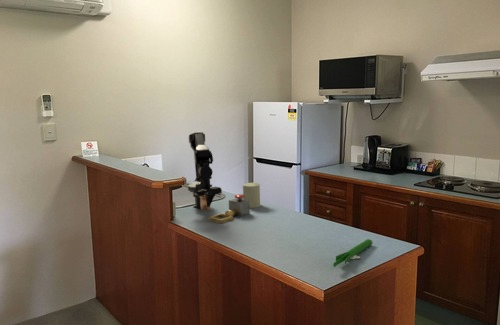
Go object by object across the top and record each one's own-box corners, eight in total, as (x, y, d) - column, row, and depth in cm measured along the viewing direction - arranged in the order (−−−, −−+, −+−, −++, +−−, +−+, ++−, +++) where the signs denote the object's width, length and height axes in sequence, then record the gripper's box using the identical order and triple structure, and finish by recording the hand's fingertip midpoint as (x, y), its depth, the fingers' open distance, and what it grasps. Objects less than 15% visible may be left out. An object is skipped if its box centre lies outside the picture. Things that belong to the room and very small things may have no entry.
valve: (221, 216, 198) (220, 198, 197) (238, 211, 207) (238, 193, 205) (233, 219, 193) (232, 200, 191) (250, 213, 201) (249, 195, 200)
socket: (209, 220, 192) (208, 217, 192) (221, 216, 198) (221, 213, 198) (220, 223, 187) (220, 220, 186) (233, 219, 192) (233, 216, 192)
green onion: (363, 246, 155) (327, 269, 132) (364, 238, 155) (327, 259, 131) (376, 249, 152) (341, 272, 129) (376, 240, 152) (341, 262, 128)
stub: (198, 209, 199) (197, 195, 198) (206, 207, 203) (205, 193, 202) (205, 211, 195) (204, 197, 194) (213, 209, 199) (212, 195, 198)
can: (260, 207, 212) (259, 185, 210) (242, 208, 212) (242, 185, 210) (260, 203, 221) (259, 181, 219) (243, 203, 221) (242, 182, 219)
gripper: (178, 175, 197) (180, 206, 199) (203, 179, 184) (205, 213, 187) (196, 172, 205) (197, 202, 207) (221, 175, 192) (223, 207, 195)
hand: (205, 206), depth 199 cm, fingers closed on stub, 4 cm apart
